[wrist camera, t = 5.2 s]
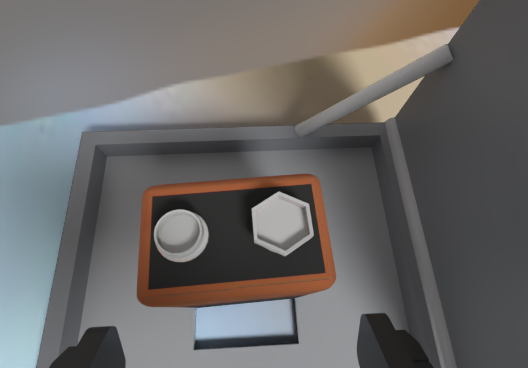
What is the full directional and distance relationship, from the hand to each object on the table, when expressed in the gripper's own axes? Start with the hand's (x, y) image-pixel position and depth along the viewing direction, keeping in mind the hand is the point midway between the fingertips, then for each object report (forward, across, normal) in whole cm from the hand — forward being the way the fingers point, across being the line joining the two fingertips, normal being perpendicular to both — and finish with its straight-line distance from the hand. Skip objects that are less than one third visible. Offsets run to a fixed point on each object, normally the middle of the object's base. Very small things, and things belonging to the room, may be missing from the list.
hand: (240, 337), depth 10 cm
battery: (+8, 0, +4) cm, 9 cm away
